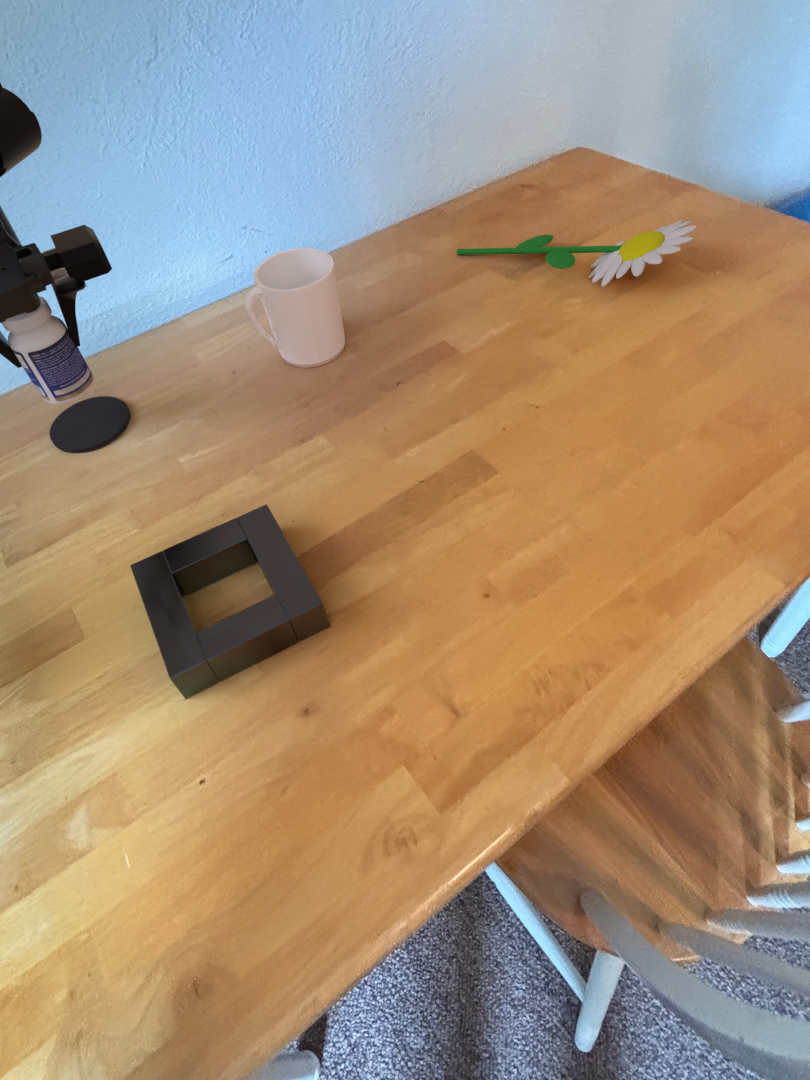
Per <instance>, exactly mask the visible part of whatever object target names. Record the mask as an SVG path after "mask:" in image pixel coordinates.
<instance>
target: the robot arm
mask: <svg viewBox="0 0 810 1080" xmlns="http://www.w3.org/2000/svg"><path fill="white" fill-rule="evenodd" d="M42 138H43V134H42V128H41V126H40V122H39V119H38V118H37V115H36V114H35V113H34V111H32V110H31V109H30V107H28V105H27V104H26V103H25V102H24V101H23V99H21V98H20V97H19V96H18V95H16V94H15V93H14V92H13V91H11V90H9V89H7V88H5V87H4V86H3V85H2V83H1V82H0V178H2V177H3V176H4V175H5V174H6V173H8V172H9V171H11V170H12V169H13V168H14V167H16V166H17V165H19V164H20V163H21V162H22V161H24V160H26V158H28V157H29V156H31V155H32V154H33V153H34V152H36V151H37V150H38V149H39V148H40V146H41V144H42V140H43V139H42ZM94 230H95V229H93V228H91V227H89V226H88V225H86V224H82V225H78V226H76V227H73V228H72V227H71V228H70V229H66V230H63V231H60V232H57V233H54V234H50V239H51V241H52V243H53V245H54V247H52V248H49V249H46V250H45V251H43V252H41V251H40V248H39V247H38V245H37V244H36V243H35V242H32V243H28V244H26V245H23V244H22V243H21V240H20V239H19V237H18V235H17V233H16V232H15V229H14V227H13V226H12V224H11V222H10V220H9V218H8V216H7V215H6V213H5V211H4V210H3V207H2V206H1V205H0V324H2V322H5V321H6V319H8V318H11V317H14V316H17V315H20V314H22V313H31V312H33V311H35V310H37V309H38V308H39V307H40V305H41V301H40V298H39V296H40V295H39V293H42V292H45V291H47V287H48V286H51V287H52V290H53V293H54V296H55V298H56V301H57V304H58V306H59V309H60V312H61V314H62V317H63V320H64V324H65V325H66V327H67V329H68V331H69V333H70V336H71V338H72V340H73V341H74V343H75V345H76V346H77V347H78V348H79V347H80V346H81V341H80V334H79V333H80V332H79V327H78V320H77V312H76V302H77V300H76V299H77V294H78V292H80V291H83V290H85V289H86V287H87V284H86V282H87V281H89V280H93V279H96V278H99V277H101V276H104V275H107V274H109V273H110V272H111V271H112V270H113V267H112V265H111V263H110V260H109V259H108V256H107V254H106V252H105V250H104V248H103V246H102V243H101V241H100V240H99V238H98V236H97V235H96V234H97V233H95V231H94ZM0 355H1V356H2V357H4V358H5V360H7V361H8V362H10V363H11V364H12V365H14V366H15V367H16V368H17V369H20V368H23V367H22V365H21V364H20V362H19V360H18V359H17V357H16V355H15V354H14V352H13V351H12V349H11V347H10V346H9V343H8V338H7V337H6V336H5V335H4V333H3V332H2V331H1V330H0Z"/></svg>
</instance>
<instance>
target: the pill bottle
mask: <svg viewBox="0 0 810 1080" xmlns="http://www.w3.org/2000/svg"><path fill="white" fill-rule="evenodd" d="M38 296H39V298H40V301H41V305H40V307H39V308H38V309H37V310H35V311H33V312H31V313H22V314H20V315H17V316H14V317H11V318H8V319H6V321H5V322H2V323H1V324H2V326H3V328H4V329H5V330H6V331H7V332H9V333H8V334H7V335H8V337H7V341H8V343H9V346H10V347H11V349H12V351H13V352H14V354H15V355H16V357H17V359H18V360H19V362H20V364H21V365H22V367H21V368H23V370H24V371H25V373H26V375H27V376H28V378H29V379H30V381H31V383H32V384H33V386H34V387H35V389H36V391H37V392H38V395H40V397H41V398H42V399H43V400H44V401H45V402H46V403H49V404H50V405H55V406H56V405H59V406H61V405H68V404H71V403H74V402H76V401H78V400H80V399H83V398H84V397H85V396H87V394H89V392H91V390H92V389H93V387H94V385H95V377H94V374H93V372H92V371H91V369H90V367H89V365H88V363H87V362H86V360H85V358H84V357H83V354H82V352H81V350H80V349H79V346H78V347H77V346H76V345H75V343H74V341H73V340H72V338H71V336H70V333H69V331H68V328H67V325H66V323H65V321H63V320H62V319H61V318H60V317H58V316H56V315H53V314H52V313H53V312H52V308H51V306H50V305H49V303H48V301H47V300H46V299H45V298H44V297H43V296H40V295H38Z"/></svg>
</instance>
